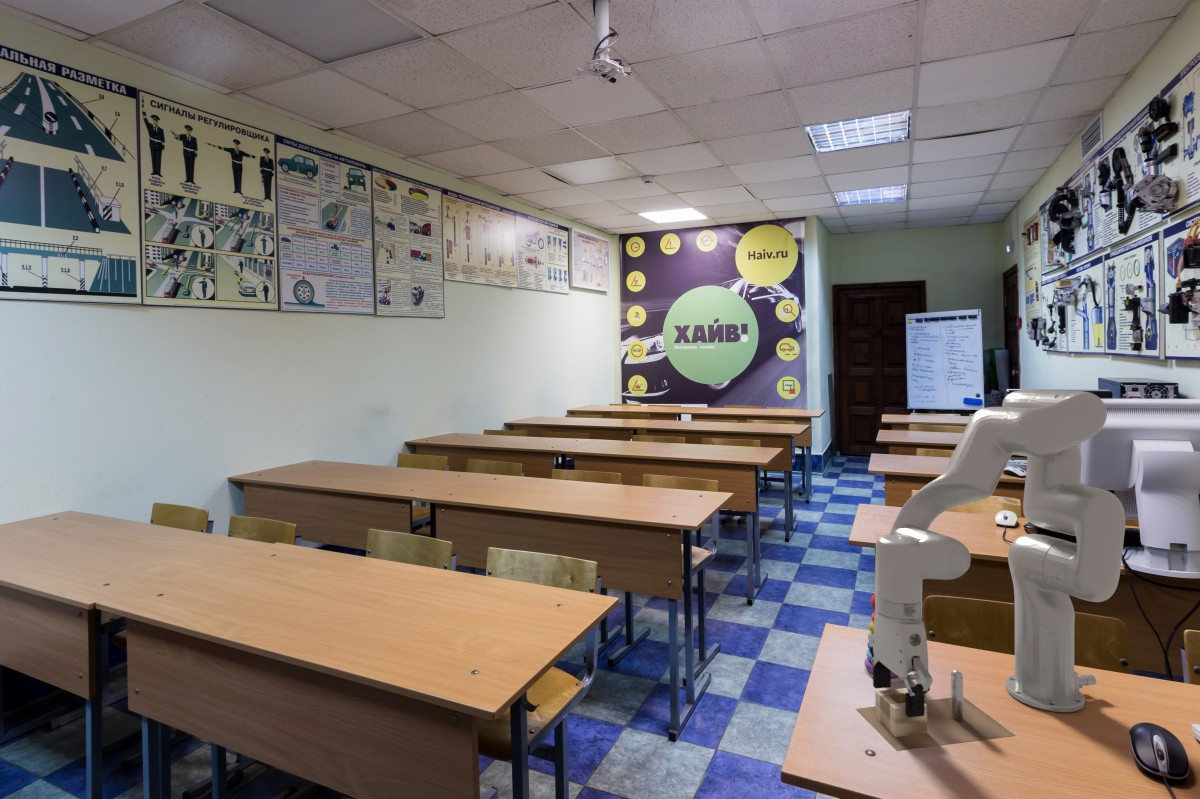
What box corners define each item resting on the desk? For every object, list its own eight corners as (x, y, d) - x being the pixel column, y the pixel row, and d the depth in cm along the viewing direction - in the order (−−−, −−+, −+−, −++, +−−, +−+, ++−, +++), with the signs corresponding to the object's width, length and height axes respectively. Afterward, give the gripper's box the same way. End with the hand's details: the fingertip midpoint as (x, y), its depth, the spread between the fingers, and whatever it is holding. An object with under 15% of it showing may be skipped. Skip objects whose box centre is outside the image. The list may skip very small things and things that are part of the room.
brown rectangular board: (962, 703, 121) (962, 696, 121) (1015, 743, 108) (1015, 735, 108) (855, 716, 118) (855, 708, 118) (896, 759, 105) (896, 750, 105)
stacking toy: (910, 690, 126) (909, 599, 125) (868, 687, 128) (866, 598, 127) (900, 671, 134) (898, 585, 133) (860, 669, 136) (858, 584, 135)
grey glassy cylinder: (958, 715, 115) (957, 667, 114) (965, 720, 113) (964, 672, 112) (949, 716, 114) (948, 668, 114) (956, 721, 113) (955, 673, 112)
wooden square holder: (906, 714, 116) (905, 687, 115) (927, 733, 110) (926, 705, 109) (875, 717, 115) (875, 691, 114) (895, 737, 109) (894, 709, 109)
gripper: (951, 624, 103) (949, 726, 104) (889, 588, 120) (888, 676, 121) (908, 628, 102) (907, 730, 103) (852, 591, 119) (852, 679, 120)
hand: (897, 700), depth 112 cm, fingers open, 9 cm apart
